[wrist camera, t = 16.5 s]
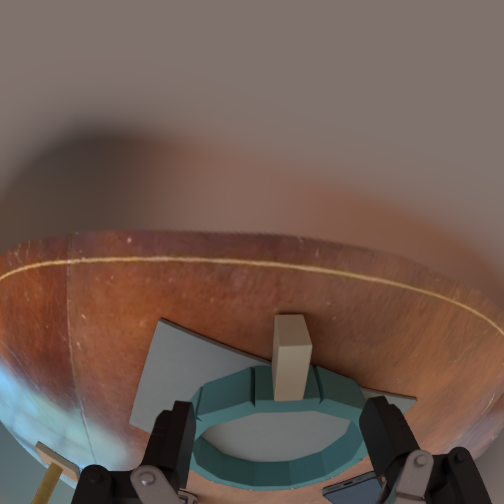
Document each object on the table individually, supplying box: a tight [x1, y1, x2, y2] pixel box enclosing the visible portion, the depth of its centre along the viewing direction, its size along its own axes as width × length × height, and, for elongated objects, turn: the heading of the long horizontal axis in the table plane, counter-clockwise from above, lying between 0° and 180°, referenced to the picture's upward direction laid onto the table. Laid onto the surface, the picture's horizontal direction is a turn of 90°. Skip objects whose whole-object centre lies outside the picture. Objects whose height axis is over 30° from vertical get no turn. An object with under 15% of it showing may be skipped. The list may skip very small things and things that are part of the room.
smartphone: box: [322, 472, 383, 504], centre depth 24 cm, size 8×2×15 cm
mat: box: [129, 318, 418, 462], centre depth 18 cm, size 22×13×1 cm, turn 65°
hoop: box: [189, 315, 368, 491], centre depth 16 cm, size 18×15×3 cm
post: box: [31, 441, 80, 504], centre depth 18 cm, size 8×8×15 cm
